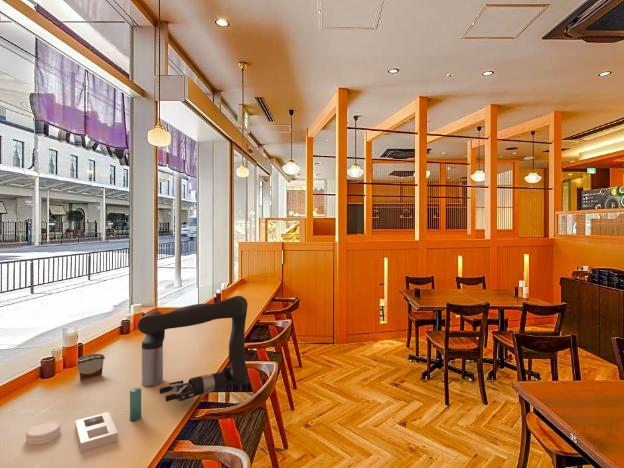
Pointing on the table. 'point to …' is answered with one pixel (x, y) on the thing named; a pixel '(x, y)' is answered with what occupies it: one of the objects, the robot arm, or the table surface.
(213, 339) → the table surface
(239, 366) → the robot arm
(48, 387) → the table surface
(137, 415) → the teal cylinder
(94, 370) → the food container
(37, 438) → the coaster
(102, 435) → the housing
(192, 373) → the table surface
